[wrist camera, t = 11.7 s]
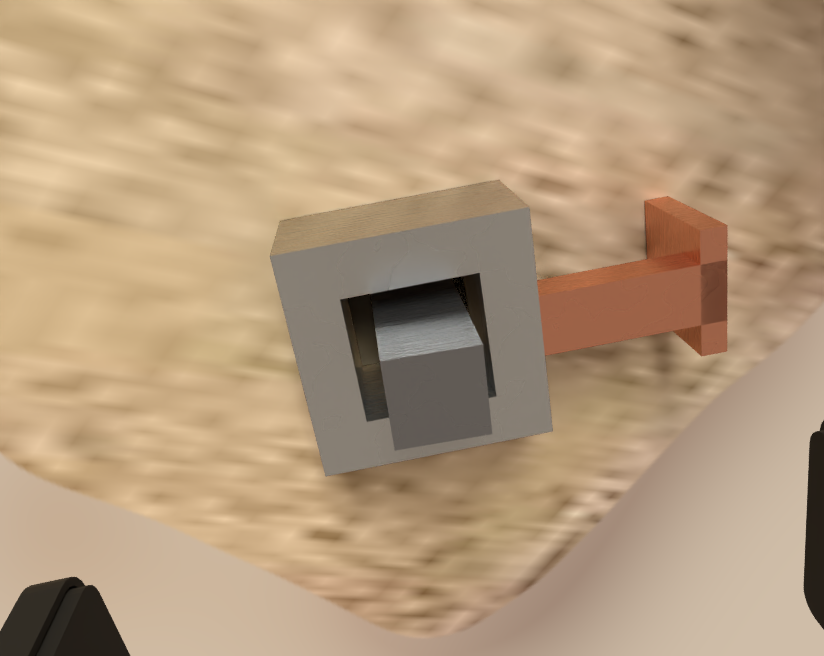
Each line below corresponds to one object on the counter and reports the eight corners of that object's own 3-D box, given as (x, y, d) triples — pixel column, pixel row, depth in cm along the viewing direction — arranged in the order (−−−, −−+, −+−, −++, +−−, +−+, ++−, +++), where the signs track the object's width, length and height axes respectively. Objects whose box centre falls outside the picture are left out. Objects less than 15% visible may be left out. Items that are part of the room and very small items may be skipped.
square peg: (442, 260, 31) (483, 344, 22) (451, 329, 32) (492, 434, 24) (367, 272, 30) (379, 361, 22) (378, 341, 32) (394, 450, 23)
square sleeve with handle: (326, 414, 33) (325, 476, 28) (279, 221, 29) (269, 255, 25) (672, 346, 33) (727, 397, 29) (666, 148, 30) (727, 169, 25)
